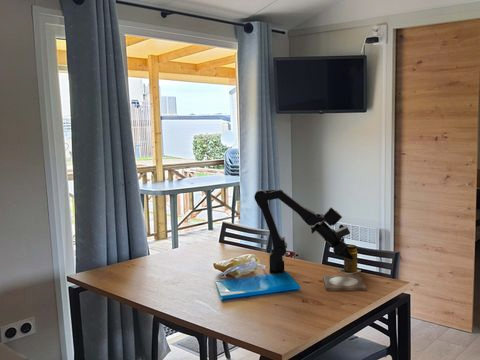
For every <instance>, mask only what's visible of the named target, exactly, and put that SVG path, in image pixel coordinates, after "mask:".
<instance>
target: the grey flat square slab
mask: <svg viewBox="0 0 480 360" xmlns="http://www.w3.org/2000/svg"><path fill="white" fill-rule="evenodd" d="M322 280H323V283H324V287H325V290H326V292H327V291H331V292H332V291H335V292H336V291H341V292H342V291H367V286H366V284H365V282H364V281H363V278H362V277H361V275H359V274H358V275H356V274H355V275H353V274H352V275H350V274H346V275H341V274H340V275H322Z"/></svg>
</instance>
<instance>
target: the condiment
mask: <svg viewBox="0 0 480 360" xmlns="http://www.w3.org/2000/svg"><path fill="white" fill-rule="evenodd" d="M347 250H348V251H349V253H350V254H351V255H352V257H353V259H352V260H351V259H348V258H345V257H343V268H342V269H341V270H340V269H339V270H337V272H339V273H342V274H346V275H353V274H355V273H356V274H357V273H359V272H361V271H362V270H361V269H358V250H357V245H355V244H349V243H348V244H347Z"/></svg>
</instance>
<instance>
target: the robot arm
mask: <svg viewBox="0 0 480 360" xmlns="http://www.w3.org/2000/svg"><path fill="white" fill-rule="evenodd" d="M272 200H280V201H281V202H283V204H284V205H286V206H287V207H289V208H290V209H291V210H292V211H294V212H296V214H298V216H299V217H301V220H303V221H304V222H305V223H306V224H307V225H308V226H310V229H311V234H314V233H315V232H316V233H317V234H318V235H319V236H320V237H321V238H322V239H323V240H324V241H325V242H326V243H328V244H329V245H330V247H331V248H332V251H333V253H334V254H335V255H336V256H339V257H343V258H344V257H345V258H348V259H351V260H352V259H353V257H352V255H351V254H350V253H349V251H348V250H347V245H348V244H347V243H346V242H345V238H344V237H345V236H348V235H350V234H351V232H350V229H349V228H348V226H347V225H344V224H342V223H341V224H339V225H338V228H337V229H336V230H335V229H333V228H331V226H333V227H334V226H335V225H336V224H337V223H338V222H339V221H340V220H341V219H342V218H343V216H342V215H341V214H340V213H339V212H338V210H335V209H334V208H333V207H329V209H328V210H327V211H326V212H325V213H324V214H321V213H320V214H319V213H316V212H315V211H314V210H311V209H309V208H308V207H304V206H303V205H301V204H300V203H299V202H298V201H297V200H295V199H294V198H293V197H291V195H288V194H287V193H286V192H284V190H283V189H281V188H279V189H267V190H265V189H262V188H260V189H257V191H256V192H255V194H254V201H255V202H256V204H257V206H258V207H259V209H260V210H261V212H262V214H263V218H264V220H265V222H266V225H267V228H268V231H269V234H270V237H271V241H272V242H271V243H272V249H271V251H269V257H268V258H269V261H268V262H269V269H268V270H269V273H270V274H273V273H274V274H282V273H283V274H284V271H285V260H284V256H285V255H286V254H287V248H288V243H287V242H286V237H285V236H283V237H282V236H281V235H280V233H279V230H278V227H277V224H276V222H275V219H274V216H273V213H272V211H271V208H270V202H269V201H272Z"/></svg>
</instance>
